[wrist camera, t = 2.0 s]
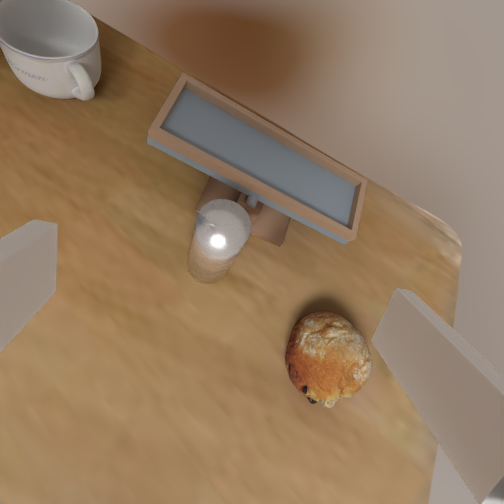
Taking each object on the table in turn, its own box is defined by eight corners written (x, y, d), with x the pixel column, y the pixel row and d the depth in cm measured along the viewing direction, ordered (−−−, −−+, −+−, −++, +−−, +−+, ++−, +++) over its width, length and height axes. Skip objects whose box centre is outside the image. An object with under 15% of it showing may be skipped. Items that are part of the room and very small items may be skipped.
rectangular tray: (142, 153, 35) (144, 136, 32) (181, 85, 39) (186, 66, 37) (339, 252, 41) (354, 245, 38) (354, 184, 46) (368, 174, 43)
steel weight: (181, 274, 39) (187, 236, 28) (196, 239, 41) (208, 190, 30) (220, 289, 39) (241, 258, 28) (233, 254, 41) (258, 211, 31)
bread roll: (349, 360, 44) (392, 334, 39) (334, 430, 36) (386, 409, 31) (291, 317, 44) (326, 284, 39) (264, 378, 37) (303, 347, 31)
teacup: (8, 55, 43) (-24, -10, 36) (93, 45, 47) (80, -15, 40) (39, 139, 40) (12, 87, 33) (127, 121, 44) (120, 72, 37)
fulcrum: (195, 212, 42) (199, 192, 38) (225, 144, 47) (232, 119, 42) (279, 246, 43) (293, 231, 39) (301, 177, 48) (315, 156, 44)
